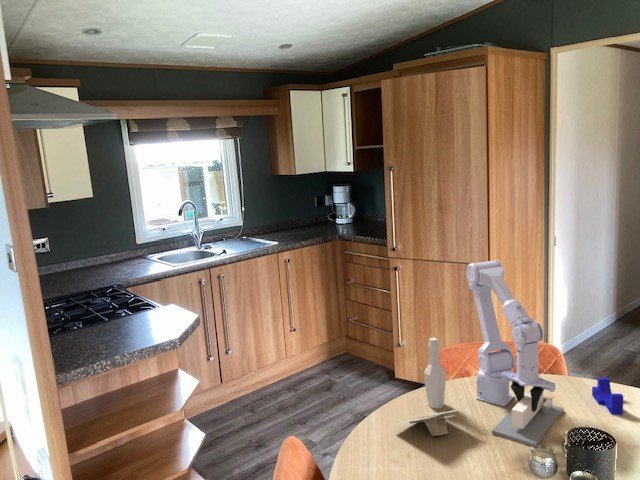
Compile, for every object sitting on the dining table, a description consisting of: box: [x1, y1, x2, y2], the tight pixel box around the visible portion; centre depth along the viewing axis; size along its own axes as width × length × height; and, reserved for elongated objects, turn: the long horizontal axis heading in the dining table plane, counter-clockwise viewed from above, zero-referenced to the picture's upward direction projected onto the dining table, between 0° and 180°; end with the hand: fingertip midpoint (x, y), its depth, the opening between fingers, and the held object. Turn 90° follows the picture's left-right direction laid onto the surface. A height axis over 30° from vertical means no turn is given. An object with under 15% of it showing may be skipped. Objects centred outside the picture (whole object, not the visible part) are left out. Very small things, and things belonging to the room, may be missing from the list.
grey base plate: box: [491, 395, 565, 448], centre depth 151 cm, size 12×23×4 cm, turn 138°
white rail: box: [511, 390, 544, 429], centre depth 150 cm, size 3×16×5 cm, turn 138°
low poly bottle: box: [423, 337, 447, 410], centre depth 163 cm, size 6×6×22 cm
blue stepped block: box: [591, 377, 624, 416], centre depth 157 cm, size 12×4×6 cm, turn 170°
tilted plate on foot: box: [396, 408, 463, 437], centre depth 149 cm, size 16×9×15 cm
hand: (528, 408), depth 150 cm, fingers closed on white rail, 3 cm apart
